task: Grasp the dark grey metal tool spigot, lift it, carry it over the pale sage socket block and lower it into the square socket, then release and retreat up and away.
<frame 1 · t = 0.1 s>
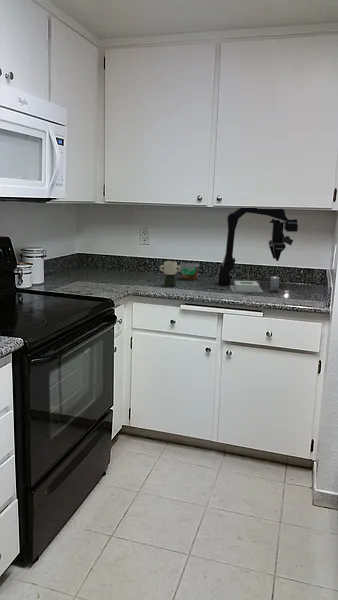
hand: (275, 259, 272), 15 cm above the worktop, fingers open, 9 cm apart
character mug: (169, 286, 269), on the worktop
spigot: (274, 291, 258), on the worktop
dock: (246, 289, 263), on the worktop
food container: (187, 280, 288), on the worktop
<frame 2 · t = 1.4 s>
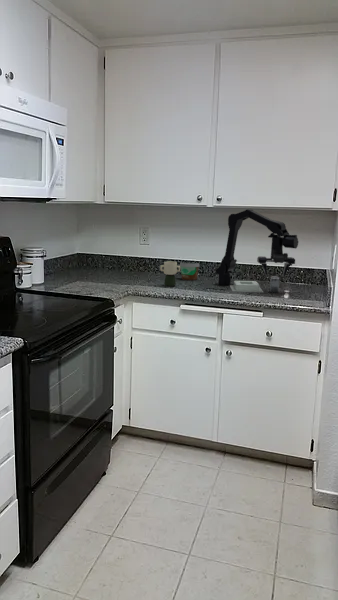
hand: (274, 276, 257), 8 cm above the worktop, fingers open, 9 cm apart
nothing on the worktop moved.
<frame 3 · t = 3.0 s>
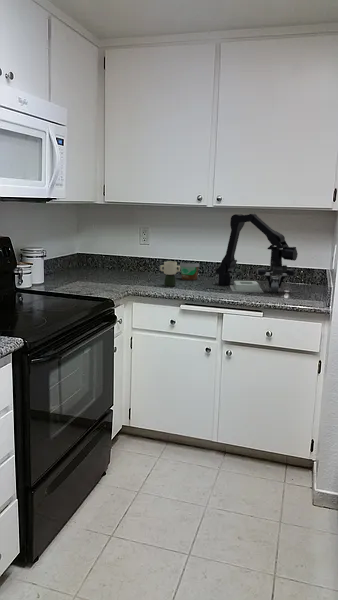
hand: (274, 288, 258), 2 cm above the worktop, fingers closed on spigot, 4 cm apart
spigot: (274, 291, 258), on the worktop, touching gripper
everything else where it was.
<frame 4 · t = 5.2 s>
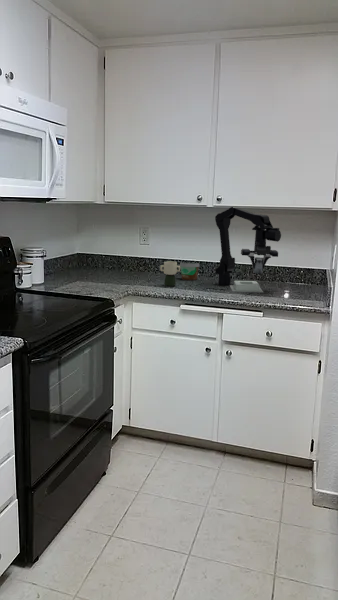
hand: (258, 268, 259), 11 cm above the worktop, fingers closed on spigot, 4 cm apart
spigot: (257, 272, 260), point 9 cm above the worktop, touching gripper
everything else where it was.
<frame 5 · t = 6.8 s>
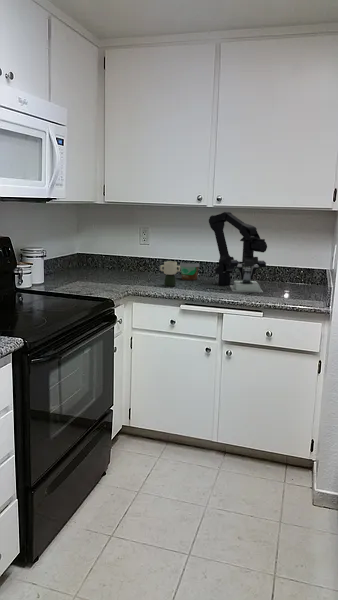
hand: (246, 279, 262), 5 cm above the worktop, fingers closed on spigot, 4 cm apart
spigot: (246, 283, 263), point 3 cm above the worktop, touching gripper
everything else where it was.
when the fingers open (4 cm above the worktop, at t = 7.8 s): spigot drops 1 cm, resting on dock.
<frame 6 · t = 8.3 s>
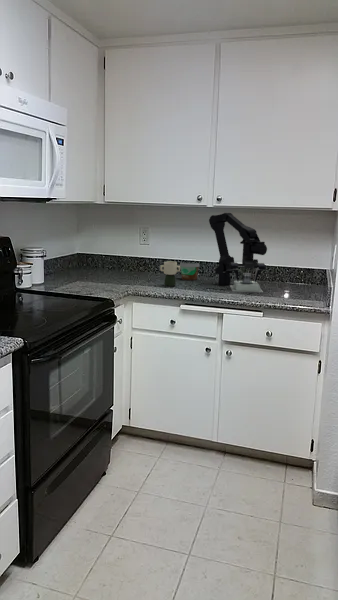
hand: (246, 282, 263), 4 cm above the worktop, fingers open, 9 cm apart
spigot: (246, 288, 263), point 1 cm above the worktop, touching dock
everything else where it was.
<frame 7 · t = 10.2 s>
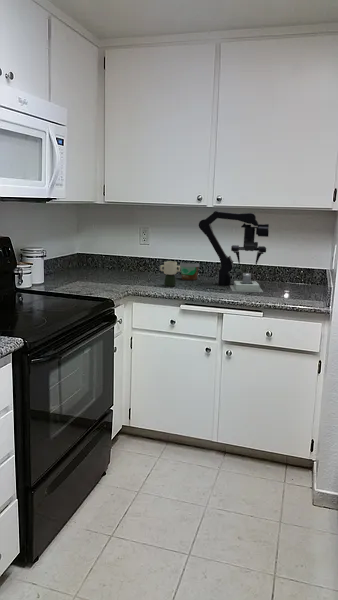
hand: (247, 264, 271), 12 cm above the worktop, fingers open, 9 cm apart
nothing on the worktop moved.
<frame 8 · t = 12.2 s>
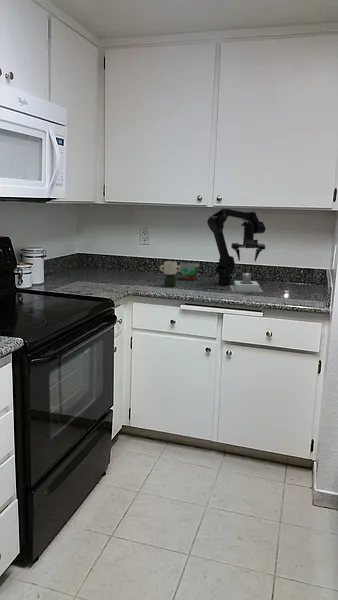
hand: (247, 261, 283), 12 cm above the worktop, fingers open, 9 cm apart
nothing on the worktop moved.
at the end: spigot 0.0 cm off-centre on the dock, point 0.6 cm above the dock's base; spigot tilted 2°; the gripper is holding nothing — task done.
